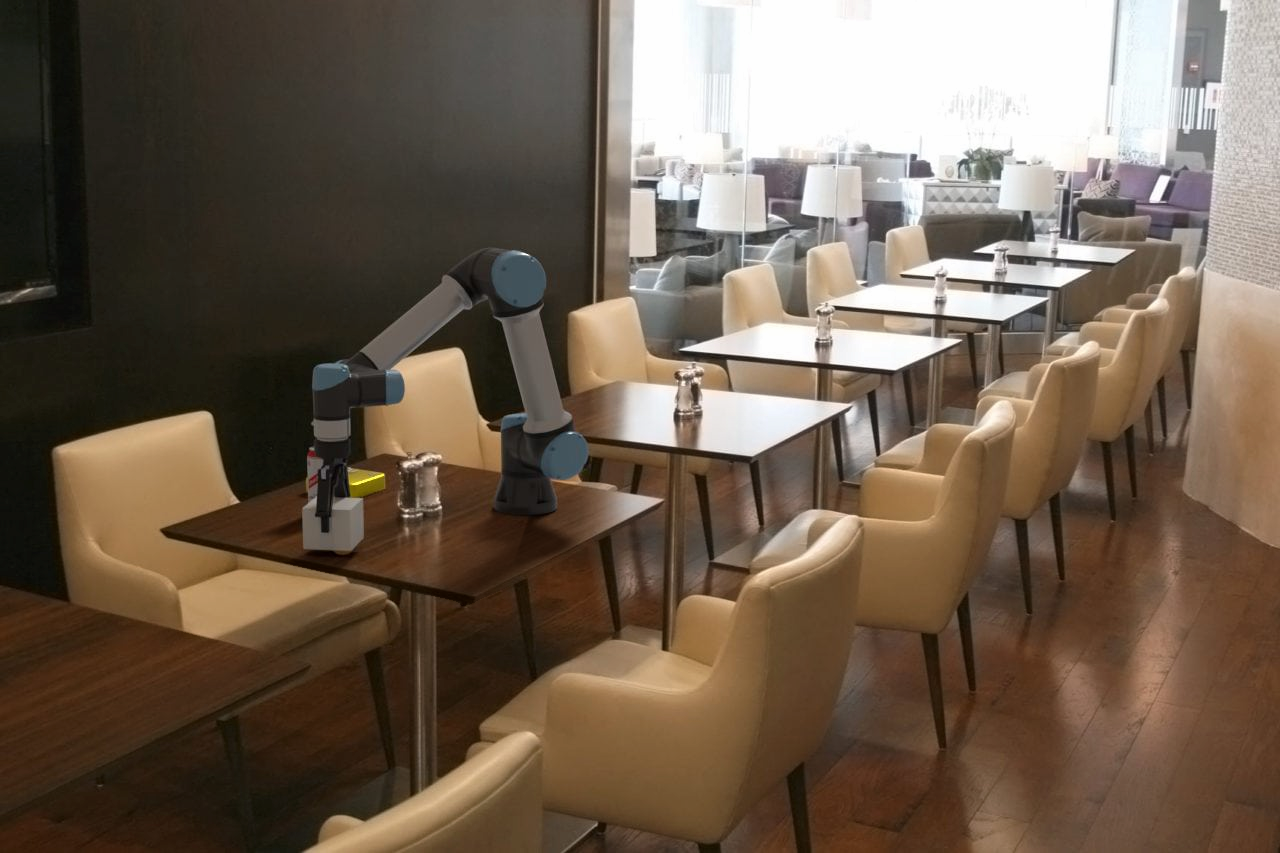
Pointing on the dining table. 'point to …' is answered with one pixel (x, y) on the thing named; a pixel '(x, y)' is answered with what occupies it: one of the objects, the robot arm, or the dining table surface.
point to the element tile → (363, 482)
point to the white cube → (335, 524)
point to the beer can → (313, 473)
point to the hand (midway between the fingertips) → (334, 539)
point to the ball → (342, 552)
